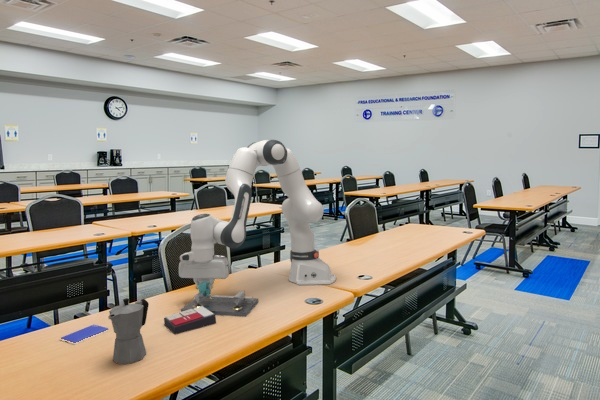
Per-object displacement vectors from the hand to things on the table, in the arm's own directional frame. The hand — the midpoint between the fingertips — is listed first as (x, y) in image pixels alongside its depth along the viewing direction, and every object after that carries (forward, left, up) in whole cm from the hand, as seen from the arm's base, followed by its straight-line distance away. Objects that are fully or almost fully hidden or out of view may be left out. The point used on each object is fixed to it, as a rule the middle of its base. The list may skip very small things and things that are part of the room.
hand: (204, 288), depth 173 cm
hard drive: (+28, +35, -7) cm, 45 cm away
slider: (0, +3, -4) cm, 5 cm away
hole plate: (-8, +3, -6) cm, 10 cm away
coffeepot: (+3, +46, -7) cm, 47 cm away
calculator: (-3, +20, -7) cm, 22 cm away
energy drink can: (+9, -21, -6) cm, 24 cm away
